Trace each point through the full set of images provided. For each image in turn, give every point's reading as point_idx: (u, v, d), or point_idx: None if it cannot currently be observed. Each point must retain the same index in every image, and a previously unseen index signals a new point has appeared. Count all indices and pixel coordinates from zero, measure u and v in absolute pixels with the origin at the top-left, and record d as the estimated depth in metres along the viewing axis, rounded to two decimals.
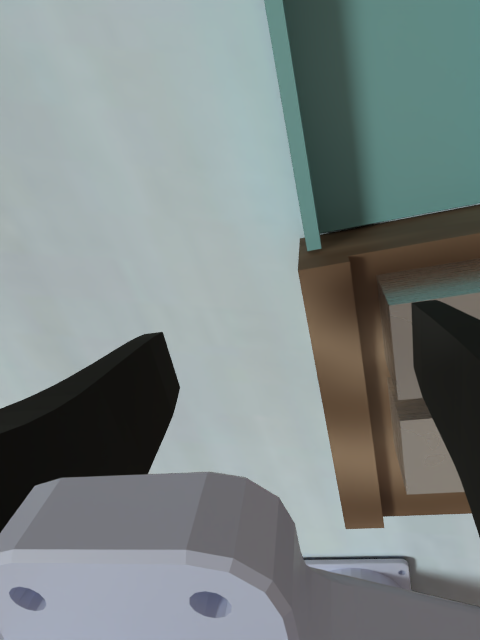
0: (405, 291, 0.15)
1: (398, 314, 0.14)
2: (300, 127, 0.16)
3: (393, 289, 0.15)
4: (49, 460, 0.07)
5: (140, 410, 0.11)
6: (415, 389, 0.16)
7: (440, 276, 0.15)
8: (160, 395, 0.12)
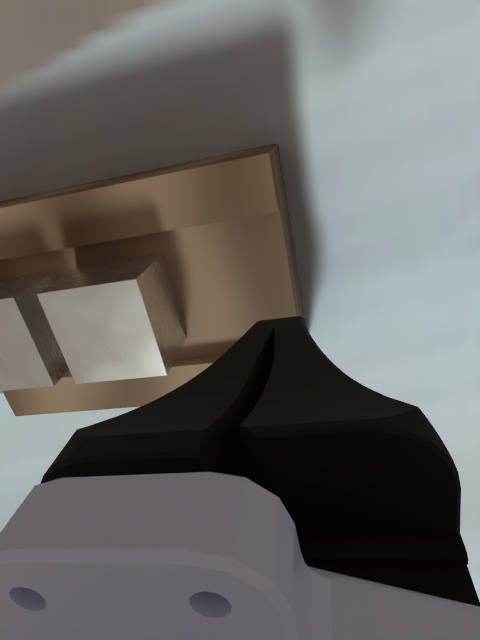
0: None
1: None
2: None
3: None
4: (240, 450, 0.07)
5: None
6: (38, 373, 0.17)
7: None
8: None
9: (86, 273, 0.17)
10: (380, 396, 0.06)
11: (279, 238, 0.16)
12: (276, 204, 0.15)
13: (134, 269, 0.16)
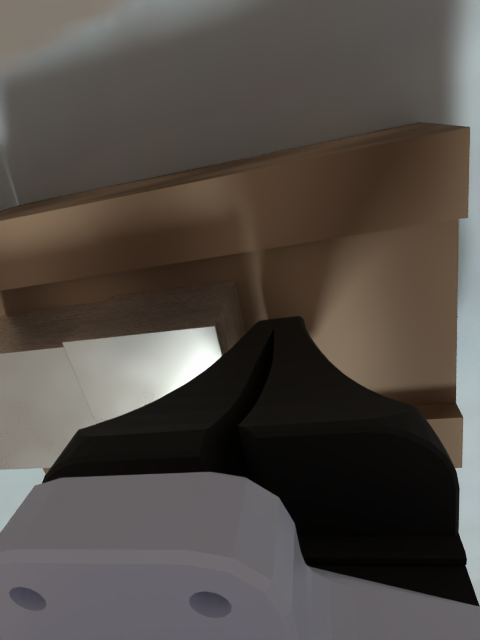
0: None
1: (4, 462, 0.13)
2: None
3: None
4: (242, 451, 0.07)
5: None
6: None
7: None
8: None
9: (130, 308, 0.12)
10: (379, 396, 0.06)
11: (450, 256, 0.11)
12: (466, 206, 0.10)
13: (203, 306, 0.11)
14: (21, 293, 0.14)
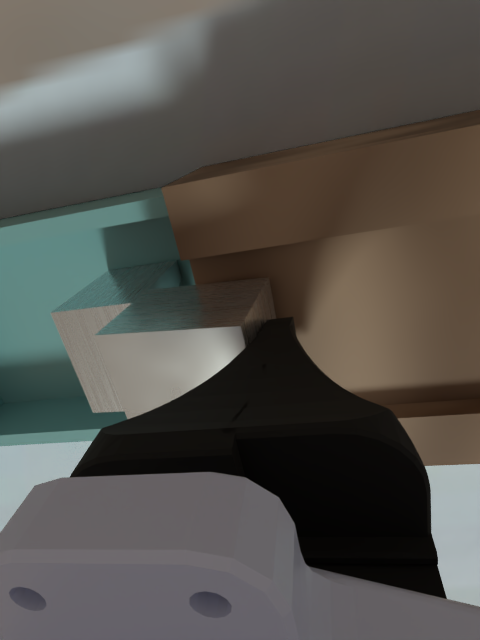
0: None
1: None
2: None
3: None
4: None
5: None
6: None
7: None
8: None
9: (162, 303, 0.12)
10: (356, 398, 0.06)
11: None
12: None
13: (233, 305, 0.11)
14: (251, 256, 0.12)
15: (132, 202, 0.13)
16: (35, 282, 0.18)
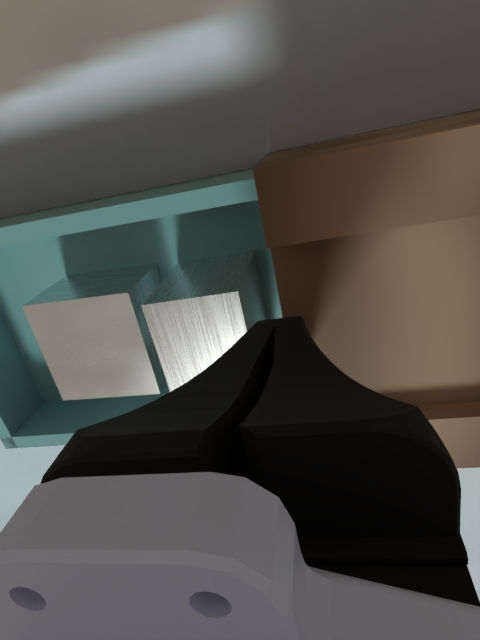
0: None
1: None
2: None
3: None
4: (240, 450, 0.07)
5: None
6: None
7: None
8: None
9: (189, 286, 0.13)
10: (380, 396, 0.06)
11: None
12: None
13: (219, 260, 0.15)
14: (338, 244, 0.11)
15: (206, 187, 0.12)
16: None
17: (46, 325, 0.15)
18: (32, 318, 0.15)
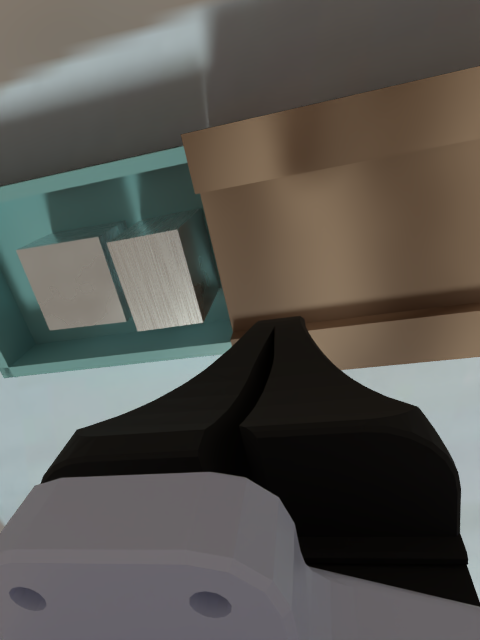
0: None
1: None
2: (141, 353, 0.20)
3: None
4: (240, 450, 0.07)
5: None
6: None
7: None
8: None
9: (144, 230, 0.17)
10: (380, 396, 0.06)
11: None
12: None
13: (172, 215, 0.19)
14: (250, 192, 0.15)
15: (154, 153, 0.16)
16: None
17: (35, 266, 0.19)
18: (24, 260, 0.18)
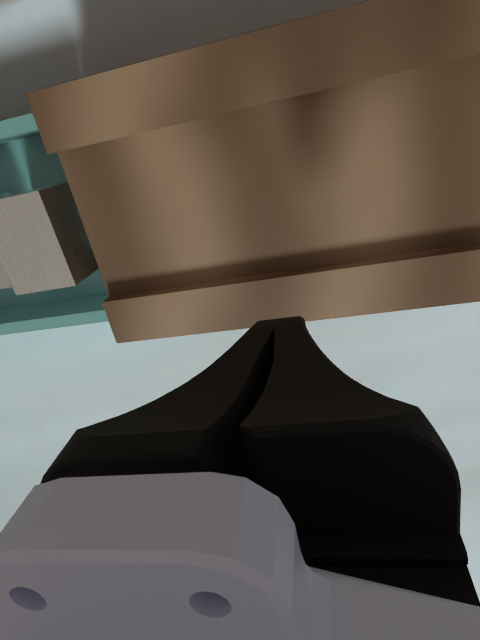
0: None
1: None
2: (33, 321, 0.21)
3: None
4: (240, 450, 0.07)
5: None
6: None
7: None
8: None
9: (17, 194, 0.18)
10: (380, 396, 0.06)
11: None
12: None
13: (57, 183, 0.20)
14: (104, 153, 0.16)
15: (19, 116, 0.17)
16: None
17: None
18: None
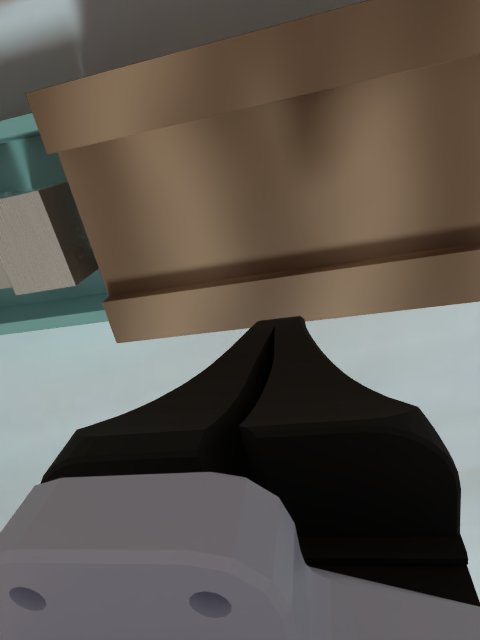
0: None
1: None
2: (33, 321, 0.21)
3: None
4: (240, 450, 0.07)
5: None
6: None
7: None
8: None
9: (17, 194, 0.18)
10: (380, 396, 0.06)
11: None
12: None
13: (57, 183, 0.20)
14: (104, 153, 0.16)
15: (19, 116, 0.17)
16: None
17: None
18: None
